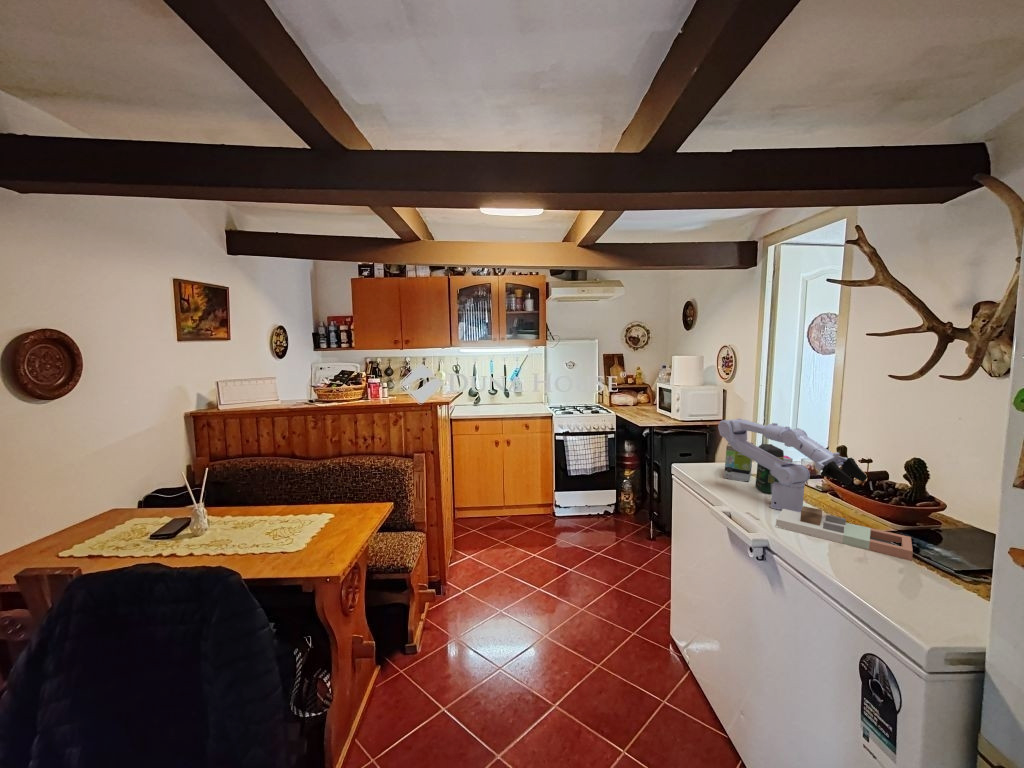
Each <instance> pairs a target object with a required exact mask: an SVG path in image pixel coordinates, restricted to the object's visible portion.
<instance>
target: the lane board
mask: <svg viewBox="0 0 1024 768" xmlns="http://www.w3.org/2000/svg"><path fill="white" fill-rule="evenodd" d="M800 519H801V513H800V512H796V511H791V510H787V509H782V510H780V513H778V516H777V518H776V519H775V521H776V522H775V527H776V526H778V527H777V528H779V527H782V528H781V529H783V528H785V529H784V530H787V529H788V531H792V532H796V533H800V534H804V535H807V536H812V537H816V538H819V539H823V540H828V541H832V542H835V543H838V544H840V543H841V544H844V545H848V546H852V547H856V548H860V549H865V550H868V551H871V552H877V553H880V554H885V555H888V556H892V557H897V558H901V559H903V560H904V559H905V560H909V561H913V553H914V552H913V550H914V549H913V544H912V543H913V542H912V537H911V536H908V535H903V534H899V533H894V532H891V531H885V530H881V529H876V528H872V527H867V526H863V525H860V524H859V525H858V524H853V523H849V522H846V521H847V519H846V518H843V517H840V516H835V515H831V514H825V517H824V516H823V517H822V519H821V523H820V526H819V525H815V524H811V523H806V522H802V521H800ZM891 542H896V543H901V546H897V545H893V544H892V543H891Z"/></svg>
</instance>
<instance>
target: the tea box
mask: <svg viewBox="0 0 1024 768" xmlns="http://www.w3.org/2000/svg"><path fill="white" fill-rule="evenodd" d="M751 443H752V444H753V445H754V442H751ZM724 461H725V462H724V463H725V464H724V473H723V477H724V478H723V479H727V478H728V479H727V480H732V479H734V481H738V480H741V481H740V482H745V481H748V482H749V481H750V479H751V476H752V475H751V474H752V468H753V465H752V463H753V460H752V459H750V458H748V457H747V456H745V455H743V454H741V453H740V452H738V451H736V450H735V449H733V448H732V447H731V445H730V444H729V443H728V442H727V444H726V450H725V460H724Z"/></svg>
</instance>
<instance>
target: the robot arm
mask: <svg viewBox="0 0 1024 768" xmlns="http://www.w3.org/2000/svg"><path fill="white" fill-rule="evenodd" d="M717 428H718V432H719V436H720V437H721V438H724V439H725V440H726V442H727V444H728V443H729V444H730V445H731V447H732V448H733V449H735V450H736V451H738V452H740V453H741V454H743V455H745V456H747V457H748V458H750V459H752V461H754V462H755V463H759V464H760V465H762V466H764V467H766V468H767V469H769V470H771V471H772V476H774V477H775V478H777V480H778V481H779V482H774V483H773V487H772V494H771V497H770V498H771V499H770V501H771V503H770V504H771V505H770V508H772V509H775V510H778V511H779V510H780V511H782V509H787V510H791V511H796V512H800V513H801V510H802V508H803V506H804V497H805V496H804V495H805V486H806V482H808V481H809V480H810V477H811V473H810V470H809V469H808V468H807V467H806V466H805V465H802V464H796V463H794V462H793V461H792V462H788V461H783V460H781V459H779V458H777V457H775V456H774V455H772V454H770V453H768V452H766V451H764V450H763V449H761V448H759V446H757V445H755V444H754V443H753V442H749V441H748V432H751V433H752V432H753V433H756V434H757V433H758V434H760V435H763V436H764V438H766V439H767V440H771V441H775V442H779V443H782V444H784V446H785V447H789V448H793V449H795V450H797V451H798V452H799V453H801V454H802V455H804V456H805V457H807V458H808V459H809V460H810V461H812V462H814V463H815V465H814V468H815V469H816V470H818V471H819V472H821V473H820V476H822V477H824V478H825V477H826V478H829V479H832V480H835V481H837V482H840V483H843V484H844V485H847V486H849V485H851V483H852V482H853V478H855V480H859V482H860V481H861V482H863V483H864V482H866V481H867V480H868V478H869V477H868V475H867V474H866V473H865V472H864V471H863V470H862V469H861V468H860V467H859V466H858V464H857V461H855V459H854V458H853V457H846V456H844V457H843V456H842V455H841V456H840V454H841V453H840V452H839V451H838V452H832V451H831V450H829V449H828V448H826V447H824V446H823V445H821V444H820V443H818V442H817V441H815V440H814V439H813V438H811V437H809V436H808V434H807V432H806V431H805V430H804V429H801V428H799V427H798V428H793V429H792V428H791V427H790V426H788V425H787V426H782V425H779V423H778V422H777V423H776V422H771V423H768V424H767V425H764V424H762V423H757V422H754V421H751V420H747V419H743V418H735V419H722V420H720V421H719V423H718V425H717ZM752 443H753V444H752ZM840 466H841V468H842V469H841V468H840ZM850 476H851V477H850ZM852 477H853V478H852Z"/></svg>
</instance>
